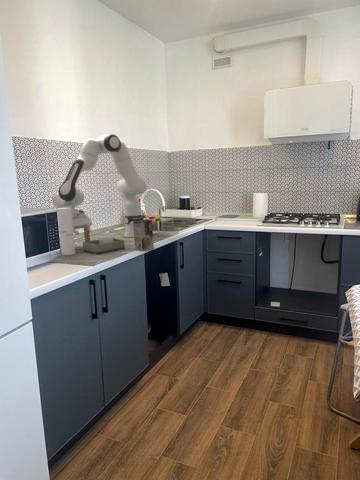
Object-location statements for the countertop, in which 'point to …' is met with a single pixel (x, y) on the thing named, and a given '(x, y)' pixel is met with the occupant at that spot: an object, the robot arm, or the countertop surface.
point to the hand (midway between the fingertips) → (84, 233)
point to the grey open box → (103, 245)
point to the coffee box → (143, 235)
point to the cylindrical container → (66, 231)
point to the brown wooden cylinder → (86, 233)
